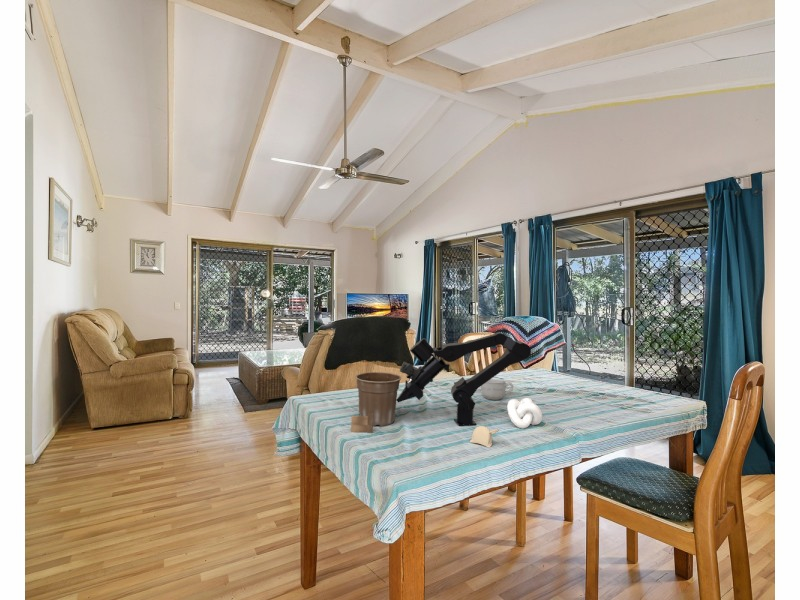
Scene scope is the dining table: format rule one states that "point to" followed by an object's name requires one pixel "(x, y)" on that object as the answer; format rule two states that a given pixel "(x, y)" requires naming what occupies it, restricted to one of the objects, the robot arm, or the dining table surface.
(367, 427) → the wooden block
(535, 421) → the white knot sculpture
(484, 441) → the decorative ornament
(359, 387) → the plant pot
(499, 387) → the teacup
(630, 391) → the dining table surface
